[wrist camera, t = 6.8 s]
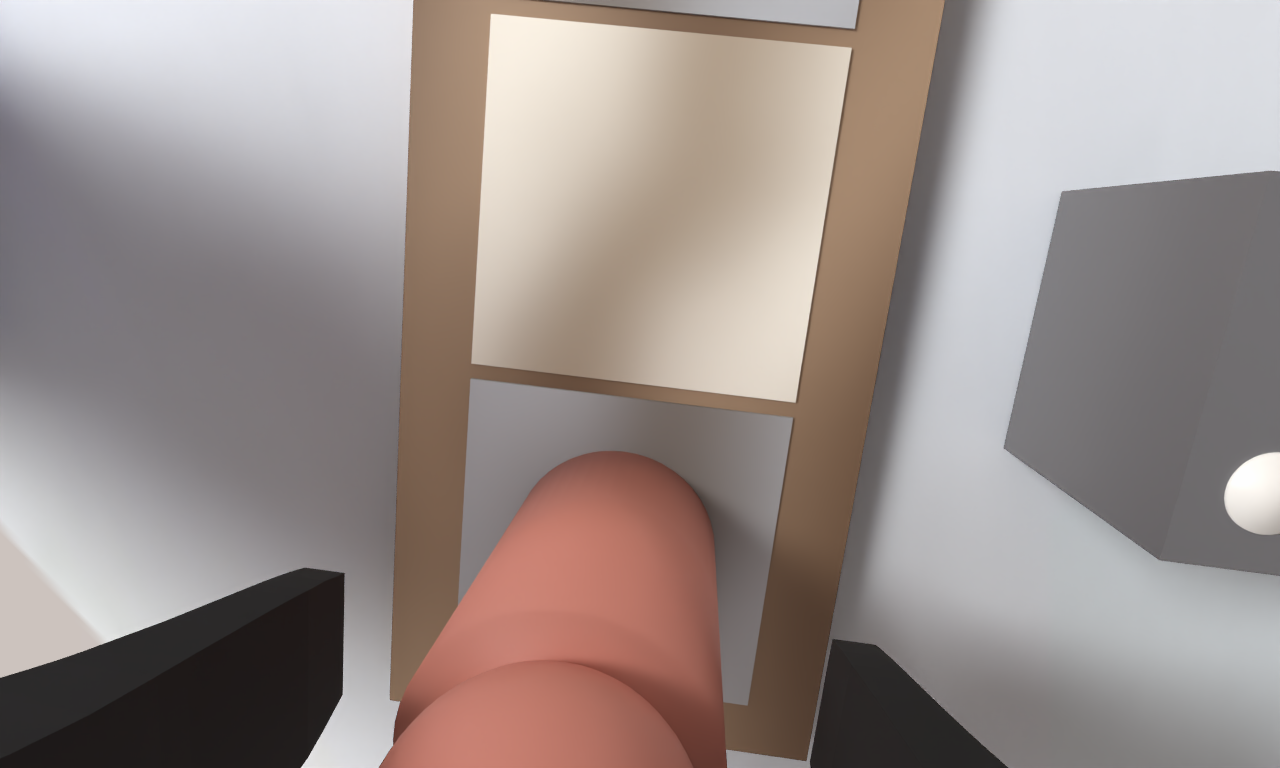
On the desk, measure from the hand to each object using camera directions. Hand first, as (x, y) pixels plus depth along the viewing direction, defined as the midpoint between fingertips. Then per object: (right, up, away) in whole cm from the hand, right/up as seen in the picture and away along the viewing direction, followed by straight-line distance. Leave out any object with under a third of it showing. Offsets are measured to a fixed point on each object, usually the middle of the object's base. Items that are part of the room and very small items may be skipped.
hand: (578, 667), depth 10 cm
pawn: (0, +1, +4) cm, 4 cm away
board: (+1, +11, +3) cm, 11 cm away
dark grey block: (+11, +5, +3) cm, 12 cm away
